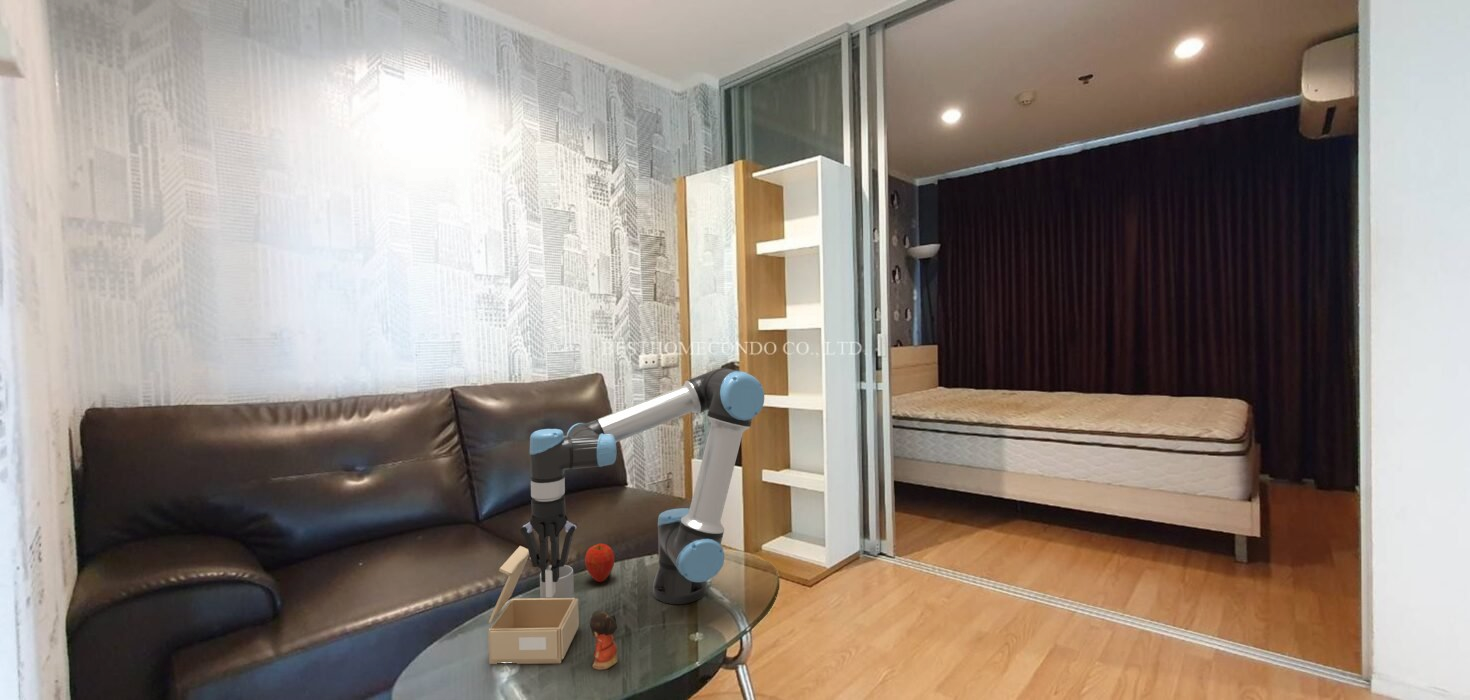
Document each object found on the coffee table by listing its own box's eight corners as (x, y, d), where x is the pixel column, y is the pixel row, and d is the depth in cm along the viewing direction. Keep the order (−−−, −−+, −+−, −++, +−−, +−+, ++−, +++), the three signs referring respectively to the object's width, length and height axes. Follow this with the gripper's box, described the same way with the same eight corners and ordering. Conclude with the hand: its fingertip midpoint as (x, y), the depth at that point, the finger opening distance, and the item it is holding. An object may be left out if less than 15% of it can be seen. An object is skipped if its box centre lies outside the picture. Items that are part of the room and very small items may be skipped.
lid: (531, 550, 143) (520, 545, 143) (512, 573, 130) (499, 568, 130) (511, 595, 144) (500, 590, 144) (490, 623, 131) (478, 617, 131)
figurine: (621, 655, 134) (620, 604, 133) (617, 670, 129) (616, 617, 128) (593, 655, 134) (592, 605, 133) (588, 670, 128) (587, 618, 128)
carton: (579, 628, 146) (578, 597, 145) (562, 664, 131) (561, 630, 130) (513, 628, 146) (512, 597, 145) (488, 665, 130) (487, 631, 130)
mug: (577, 616, 151) (576, 575, 151) (542, 623, 148) (541, 581, 147) (569, 595, 162) (568, 557, 162) (537, 602, 159) (536, 563, 158)
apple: (587, 574, 175) (586, 539, 174) (616, 573, 176) (615, 538, 175) (583, 588, 166) (582, 551, 166) (613, 586, 167) (612, 550, 167)
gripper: (580, 491, 139) (582, 586, 141) (525, 491, 139) (528, 587, 141) (572, 501, 132) (574, 602, 134) (514, 501, 132) (517, 602, 133)
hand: (550, 594), depth 137 cm, fingers closed
